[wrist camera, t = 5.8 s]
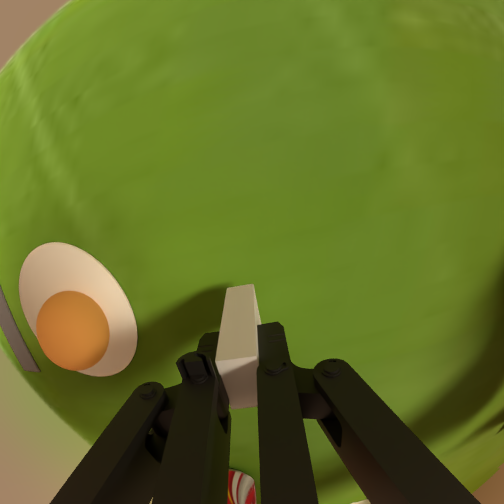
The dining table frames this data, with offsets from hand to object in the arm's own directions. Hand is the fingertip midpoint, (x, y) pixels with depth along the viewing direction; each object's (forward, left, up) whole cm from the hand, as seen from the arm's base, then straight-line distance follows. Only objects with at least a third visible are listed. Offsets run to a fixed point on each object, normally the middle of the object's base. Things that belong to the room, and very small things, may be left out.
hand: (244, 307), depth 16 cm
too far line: (+24, 0, -2) cm, 24 cm away
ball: (+12, 0, +1) cm, 12 cm away
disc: (+14, 0, -2) cm, 14 cm away
